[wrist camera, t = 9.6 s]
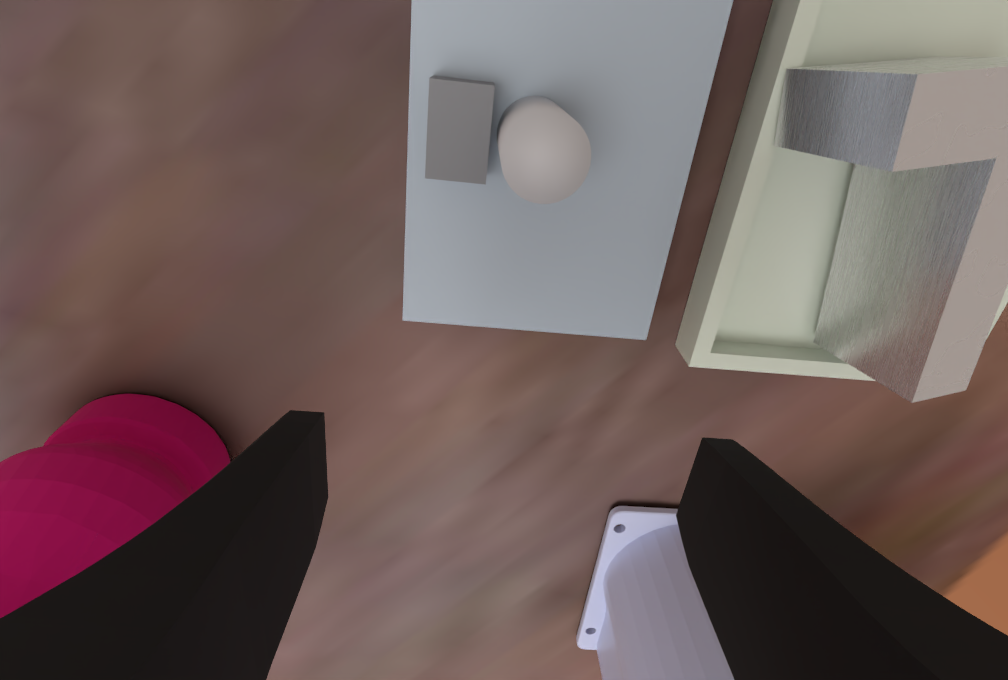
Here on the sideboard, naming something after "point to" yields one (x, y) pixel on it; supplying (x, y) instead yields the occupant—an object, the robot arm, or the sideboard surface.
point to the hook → (910, 211)
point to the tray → (803, 183)
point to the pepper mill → (97, 488)
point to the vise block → (551, 157)
